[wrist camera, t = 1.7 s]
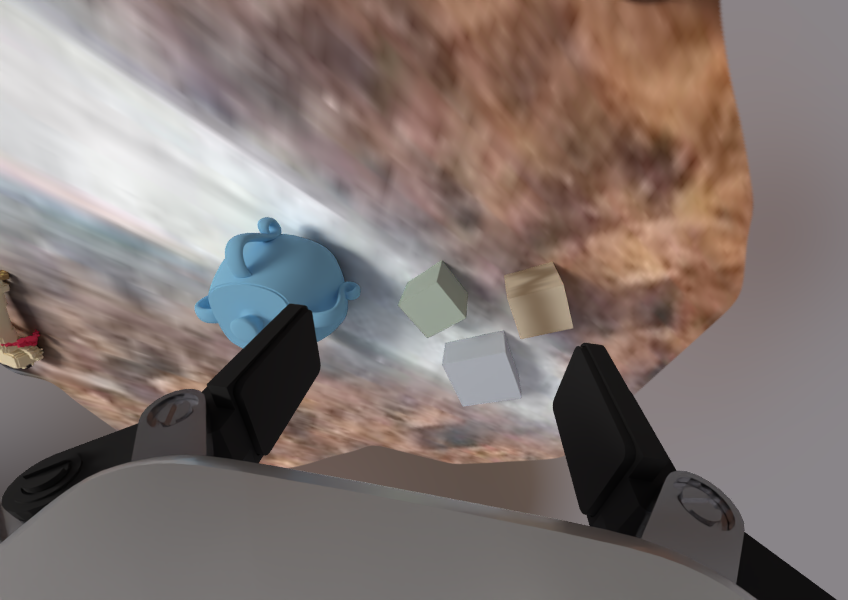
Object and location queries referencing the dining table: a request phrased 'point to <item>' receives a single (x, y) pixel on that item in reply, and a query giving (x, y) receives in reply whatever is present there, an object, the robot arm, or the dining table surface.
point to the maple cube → (538, 301)
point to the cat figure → (15, 337)
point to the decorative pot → (275, 284)
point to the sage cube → (434, 300)
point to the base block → (482, 369)
